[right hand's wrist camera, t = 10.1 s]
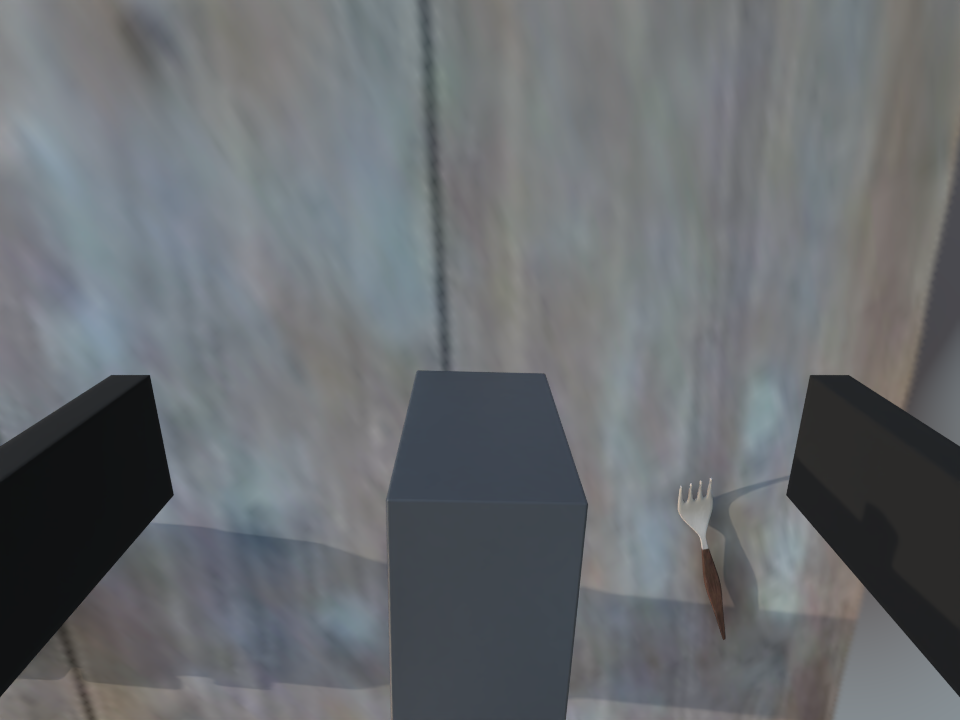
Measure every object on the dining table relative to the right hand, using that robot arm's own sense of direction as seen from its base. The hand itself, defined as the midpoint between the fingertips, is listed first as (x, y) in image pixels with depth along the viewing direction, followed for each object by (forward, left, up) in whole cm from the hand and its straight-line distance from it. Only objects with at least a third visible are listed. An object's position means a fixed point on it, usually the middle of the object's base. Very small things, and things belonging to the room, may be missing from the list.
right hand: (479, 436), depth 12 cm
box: (+9, +15, -17) cm, 24 cm away
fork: (-3, +30, -28) cm, 41 cm away
